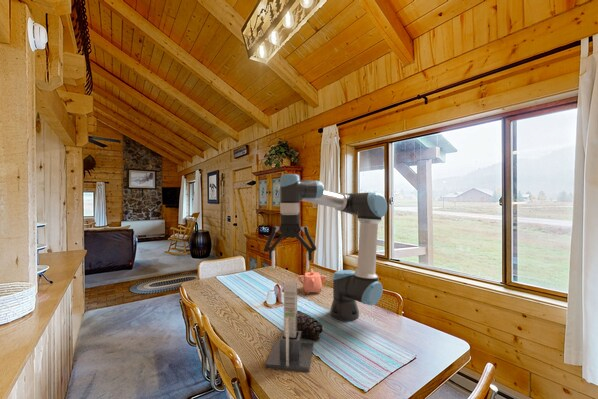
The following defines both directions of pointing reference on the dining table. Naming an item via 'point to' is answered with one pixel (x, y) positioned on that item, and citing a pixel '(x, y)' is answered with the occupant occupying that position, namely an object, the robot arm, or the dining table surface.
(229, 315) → the dining table surface
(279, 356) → the stand base
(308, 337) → the pine cone
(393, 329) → the dining table surface
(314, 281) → the teapot
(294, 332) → the column
